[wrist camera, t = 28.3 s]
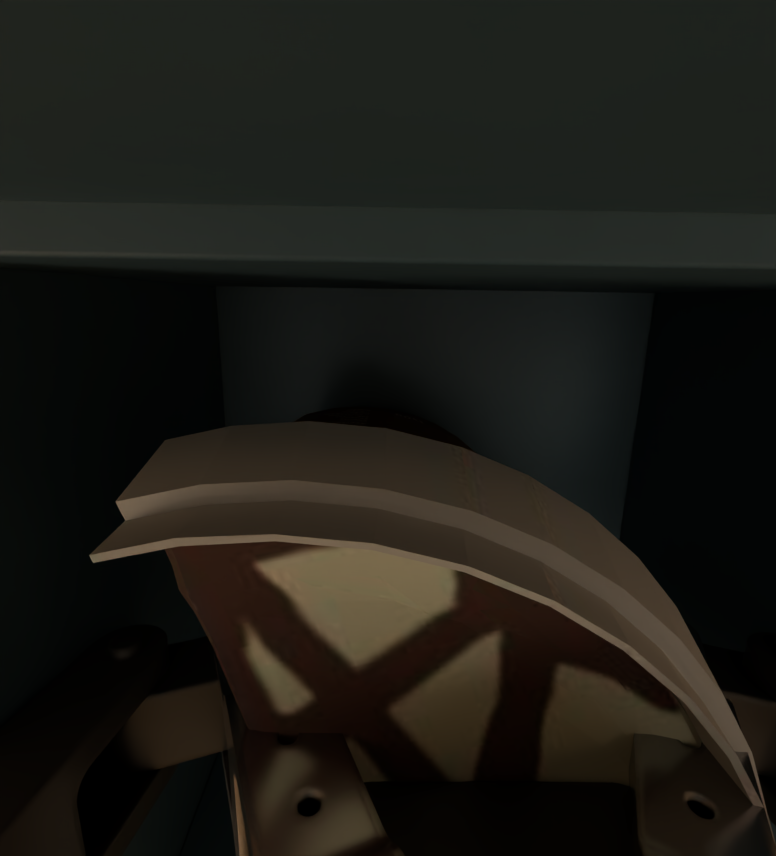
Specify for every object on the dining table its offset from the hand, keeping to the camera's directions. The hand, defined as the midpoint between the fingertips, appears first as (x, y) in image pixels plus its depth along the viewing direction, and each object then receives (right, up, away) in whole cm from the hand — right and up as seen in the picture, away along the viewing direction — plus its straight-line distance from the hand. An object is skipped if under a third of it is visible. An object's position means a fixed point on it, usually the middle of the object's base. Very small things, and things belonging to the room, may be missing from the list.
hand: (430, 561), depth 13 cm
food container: (+1, 0, +2) cm, 2 cm away
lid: (0, +3, -17) cm, 17 cm away
